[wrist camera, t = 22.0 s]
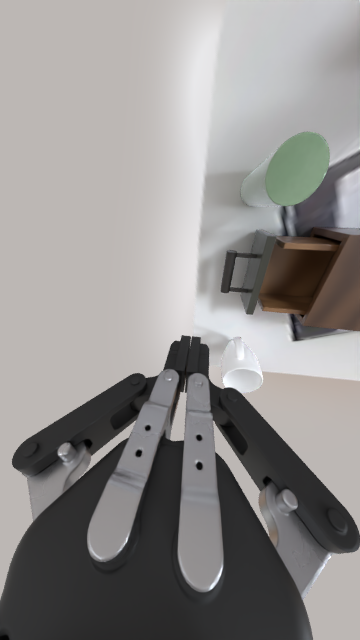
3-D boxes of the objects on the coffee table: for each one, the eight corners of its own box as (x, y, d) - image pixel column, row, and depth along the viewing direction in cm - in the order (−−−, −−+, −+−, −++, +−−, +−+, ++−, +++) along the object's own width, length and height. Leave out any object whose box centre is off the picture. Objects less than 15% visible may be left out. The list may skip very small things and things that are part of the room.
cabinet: (283, 300, 36) (302, 325, 28) (313, 226, 28) (350, 234, 21) (361, 307, 34) (403, 335, 27) (415, 230, 27) (497, 239, 19)
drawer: (217, 294, 37) (218, 311, 31) (227, 228, 30) (231, 234, 24) (309, 301, 34) (330, 322, 28) (343, 232, 27) (381, 240, 21)
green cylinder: (243, 169, 26) (275, 132, 13) (275, 169, 25) (343, 130, 12) (237, 206, 28) (258, 205, 15) (266, 206, 28) (313, 206, 15)
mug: (252, 355, 46) (263, 394, 36) (221, 356, 48) (223, 393, 39) (253, 318, 40) (265, 353, 30) (217, 322, 42) (218, 355, 32)
